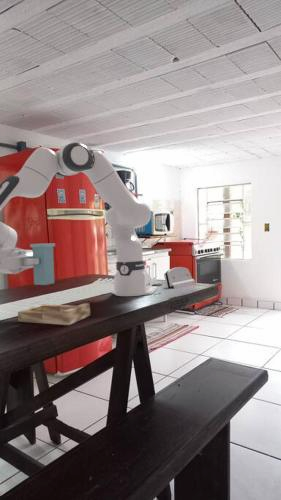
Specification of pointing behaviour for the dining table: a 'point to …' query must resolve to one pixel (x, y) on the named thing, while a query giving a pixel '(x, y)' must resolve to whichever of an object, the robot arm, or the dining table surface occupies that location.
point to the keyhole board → (55, 314)
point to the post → (43, 263)
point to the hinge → (178, 277)
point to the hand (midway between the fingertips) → (45, 260)
